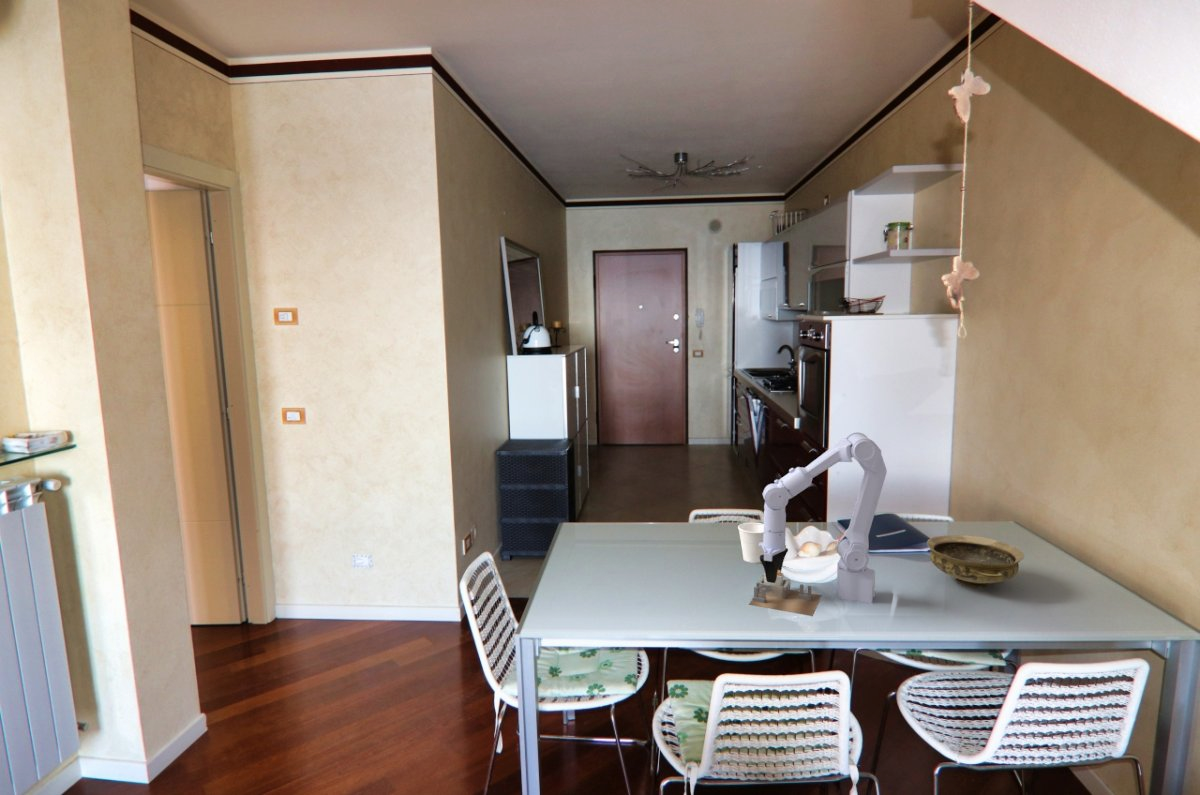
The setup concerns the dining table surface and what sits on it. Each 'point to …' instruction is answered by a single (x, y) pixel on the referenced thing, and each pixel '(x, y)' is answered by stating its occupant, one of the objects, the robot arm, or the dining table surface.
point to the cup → (751, 541)
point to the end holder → (774, 588)
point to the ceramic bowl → (974, 559)
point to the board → (791, 603)
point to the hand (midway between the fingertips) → (773, 578)
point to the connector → (778, 580)
